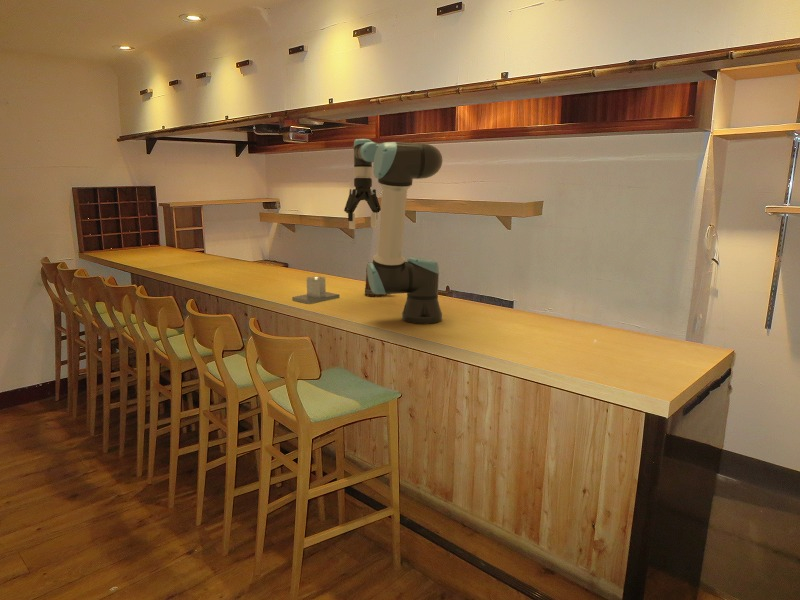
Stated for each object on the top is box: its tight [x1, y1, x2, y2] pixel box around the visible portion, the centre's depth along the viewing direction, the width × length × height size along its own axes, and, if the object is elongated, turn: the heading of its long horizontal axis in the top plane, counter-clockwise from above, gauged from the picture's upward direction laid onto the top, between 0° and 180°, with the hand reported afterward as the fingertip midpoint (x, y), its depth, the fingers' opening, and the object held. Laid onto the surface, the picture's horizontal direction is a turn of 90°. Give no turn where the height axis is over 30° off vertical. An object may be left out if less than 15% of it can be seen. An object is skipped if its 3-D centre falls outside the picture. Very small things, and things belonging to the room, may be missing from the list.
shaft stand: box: [291, 275, 341, 305], centre depth 236 cm, size 11×18×10 cm, turn 141°
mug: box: [364, 261, 391, 298], centre depth 245 cm, size 16×11×15 cm
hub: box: [306, 276, 327, 298], centre depth 235 cm, size 8×8×8 cm
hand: (363, 228), depth 228 cm, fingers open, 13 cm apart
